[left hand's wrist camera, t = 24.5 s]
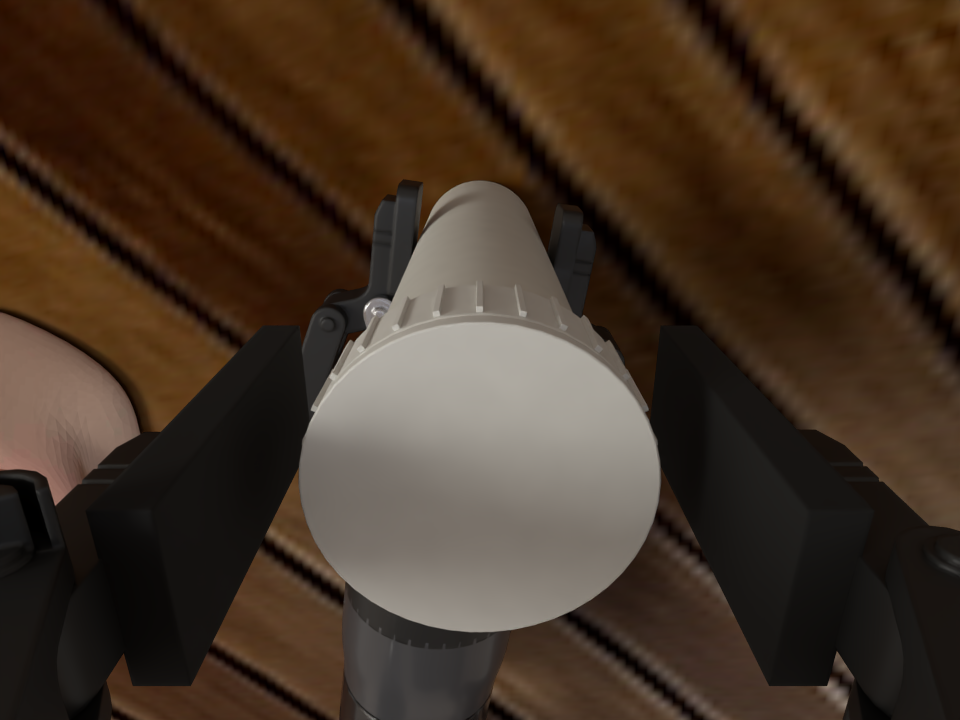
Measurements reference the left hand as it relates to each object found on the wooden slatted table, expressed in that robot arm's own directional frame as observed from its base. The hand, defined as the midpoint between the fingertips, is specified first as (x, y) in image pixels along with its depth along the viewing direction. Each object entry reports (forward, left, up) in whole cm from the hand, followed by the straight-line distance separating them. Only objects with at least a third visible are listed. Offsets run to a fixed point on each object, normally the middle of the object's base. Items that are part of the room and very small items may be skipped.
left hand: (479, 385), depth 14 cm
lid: (0, 0, +4) cm, 4 cm away
